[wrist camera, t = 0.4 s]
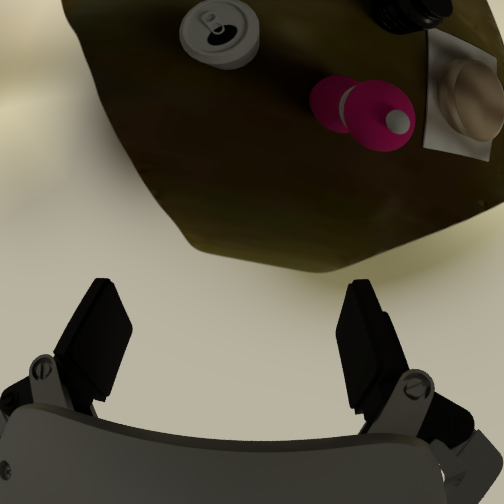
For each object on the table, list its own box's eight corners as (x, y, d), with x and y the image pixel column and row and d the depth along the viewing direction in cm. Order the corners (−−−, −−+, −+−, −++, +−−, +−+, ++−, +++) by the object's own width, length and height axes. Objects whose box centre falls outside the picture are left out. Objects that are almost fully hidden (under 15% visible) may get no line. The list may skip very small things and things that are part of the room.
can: (218, 80, 30) (199, 77, 20) (190, 37, 26) (159, 19, 17) (270, 54, 28) (275, 39, 18) (241, 10, 24) (233, -21, 14)
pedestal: (426, 25, 22) (442, 22, 18) (494, 58, 21) (511, 60, 18) (422, 146, 33) (438, 155, 30) (487, 160, 33) (502, 170, 29)
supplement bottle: (384, -13, 20) (426, -36, 10) (419, 20, 22) (468, 10, 12) (359, 10, 23) (398, -12, 13) (396, 44, 25) (445, 37, 15)
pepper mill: (360, 82, 29) (450, 92, 13) (353, 130, 33) (431, 182, 17) (308, 71, 29) (361, 59, 13) (302, 122, 33) (346, 164, 17)
